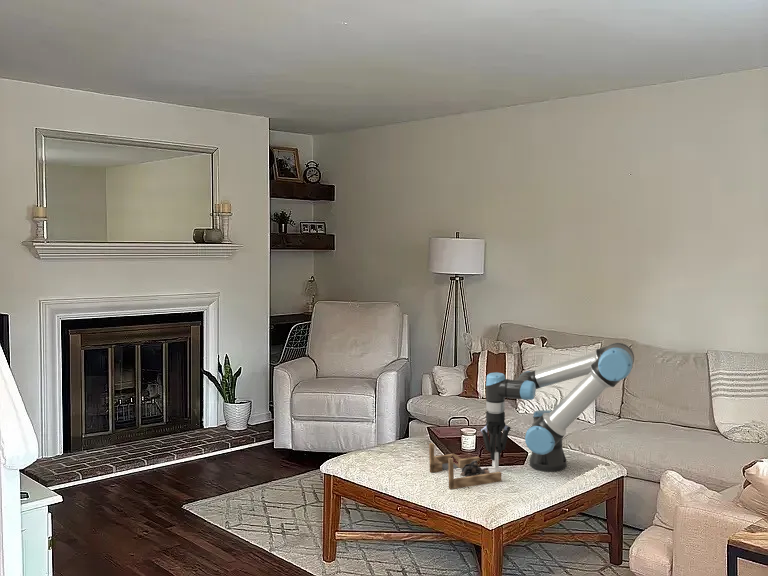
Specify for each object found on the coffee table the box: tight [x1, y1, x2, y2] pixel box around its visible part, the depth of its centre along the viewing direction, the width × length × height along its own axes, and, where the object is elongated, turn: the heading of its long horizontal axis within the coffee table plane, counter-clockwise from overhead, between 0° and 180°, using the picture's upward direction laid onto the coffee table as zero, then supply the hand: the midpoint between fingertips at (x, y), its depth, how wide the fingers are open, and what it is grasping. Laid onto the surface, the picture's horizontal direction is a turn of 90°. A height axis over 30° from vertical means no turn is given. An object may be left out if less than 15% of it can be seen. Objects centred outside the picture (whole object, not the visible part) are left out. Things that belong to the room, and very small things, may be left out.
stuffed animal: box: [459, 460, 490, 477], centre depth 314 cm, size 12×10×12 cm
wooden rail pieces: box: [428, 442, 502, 490], centre depth 315 cm, size 22×28×12 cm
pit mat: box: [442, 463, 459, 471], centre depth 324 cm, size 7×6×1 cm
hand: (495, 467), depth 316 cm, fingers closed
